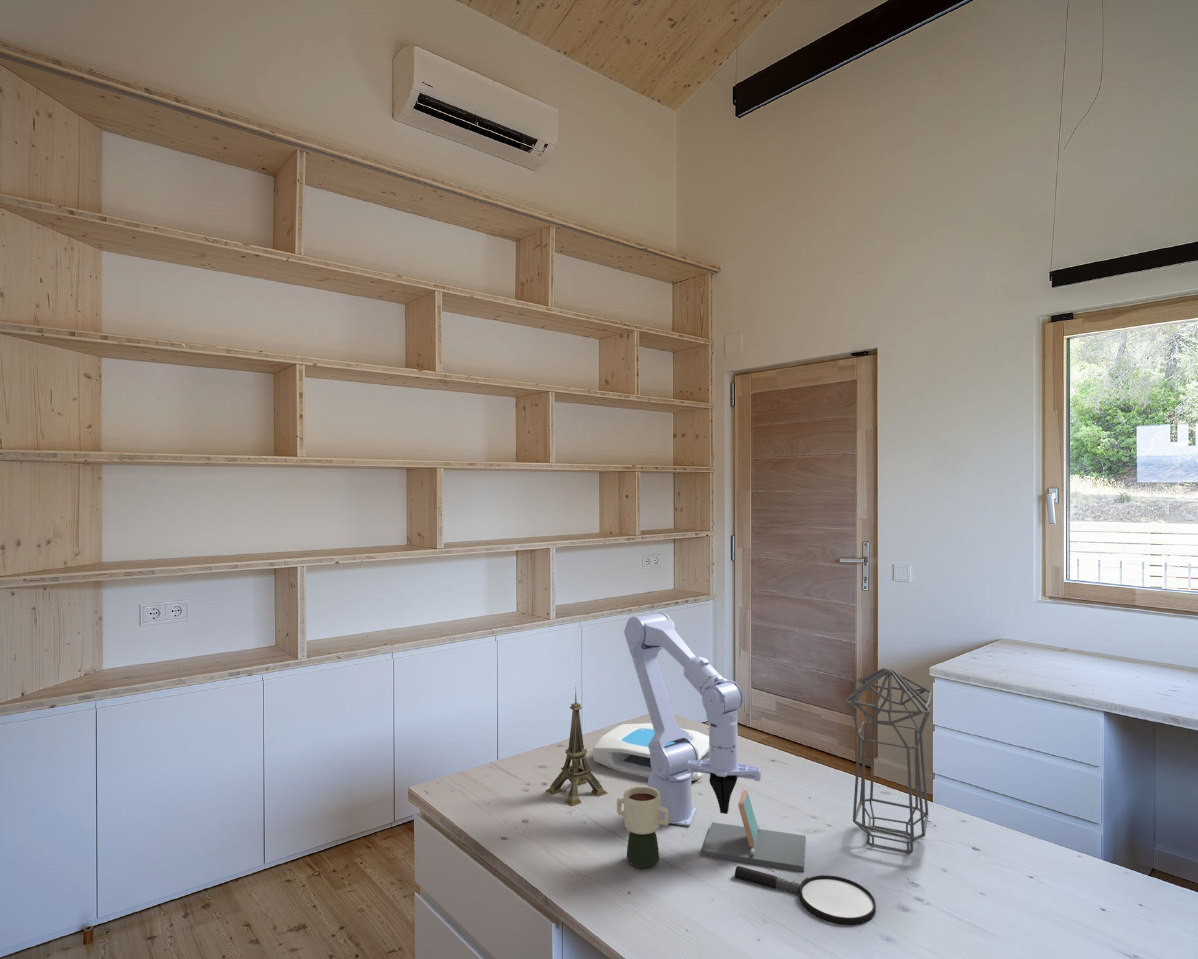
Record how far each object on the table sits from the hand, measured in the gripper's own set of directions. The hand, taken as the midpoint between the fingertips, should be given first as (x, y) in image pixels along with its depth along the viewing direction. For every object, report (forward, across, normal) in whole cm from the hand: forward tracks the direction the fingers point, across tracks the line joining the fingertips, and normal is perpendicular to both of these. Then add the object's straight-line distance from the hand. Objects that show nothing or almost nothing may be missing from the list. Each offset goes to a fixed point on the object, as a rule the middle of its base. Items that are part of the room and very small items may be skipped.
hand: (724, 811), depth 137 cm
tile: (+1, +4, 0) cm, 4 cm away
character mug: (+7, -14, -12) cm, 19 cm away
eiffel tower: (+7, -37, +14) cm, 40 cm away
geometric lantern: (+7, +32, +11) cm, 34 cm away
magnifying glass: (+7, +16, -13) cm, 21 cm away
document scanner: (+7, -23, +38) cm, 45 cm away
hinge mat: (+6, +6, 0) cm, 9 cm away
